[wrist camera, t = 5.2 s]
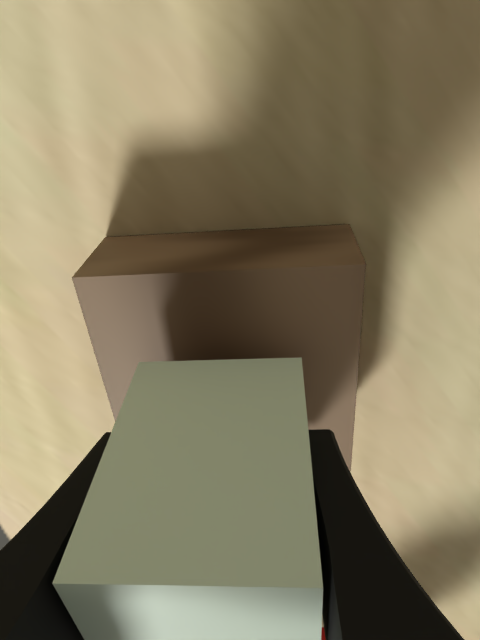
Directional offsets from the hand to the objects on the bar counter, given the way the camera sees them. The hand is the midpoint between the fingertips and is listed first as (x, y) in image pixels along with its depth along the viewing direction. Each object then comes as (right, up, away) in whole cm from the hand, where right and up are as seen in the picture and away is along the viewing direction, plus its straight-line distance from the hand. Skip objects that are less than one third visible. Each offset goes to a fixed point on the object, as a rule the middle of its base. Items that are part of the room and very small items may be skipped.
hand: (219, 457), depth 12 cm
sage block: (0, +1, +2) cm, 2 cm away
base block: (0, +3, +5) cm, 6 cm away
